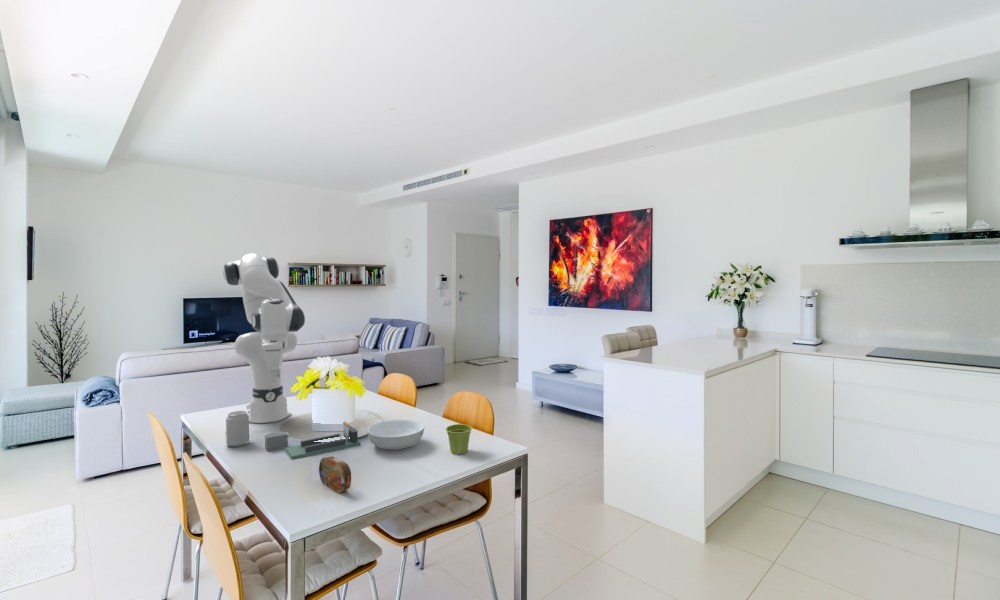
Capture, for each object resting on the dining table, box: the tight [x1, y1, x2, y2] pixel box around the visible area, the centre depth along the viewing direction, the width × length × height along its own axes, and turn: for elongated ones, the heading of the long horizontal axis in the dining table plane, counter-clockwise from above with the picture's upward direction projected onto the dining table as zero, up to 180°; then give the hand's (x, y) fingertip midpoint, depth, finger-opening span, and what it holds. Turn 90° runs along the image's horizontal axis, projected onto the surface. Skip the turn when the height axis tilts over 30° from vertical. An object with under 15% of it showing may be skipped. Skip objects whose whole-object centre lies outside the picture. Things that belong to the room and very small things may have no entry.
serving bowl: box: [366, 419, 425, 451], centre depth 173 cm, size 21×21×7 cm
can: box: [225, 410, 250, 448], centre depth 173 cm, size 8×8×12 cm
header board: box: [284, 421, 361, 460], centre depth 170 cm, size 10×24×8 cm, turn 126°
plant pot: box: [445, 423, 473, 455], centre depth 167 cm, size 9×9×9 cm
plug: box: [264, 431, 290, 452], centre depth 170 cm, size 4×7×5 cm, turn 126°
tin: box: [318, 455, 352, 494], centre depth 138 cm, size 15×3×8 cm, turn 48°
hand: (276, 380), depth 171 cm, fingers open, 8 cm apart
